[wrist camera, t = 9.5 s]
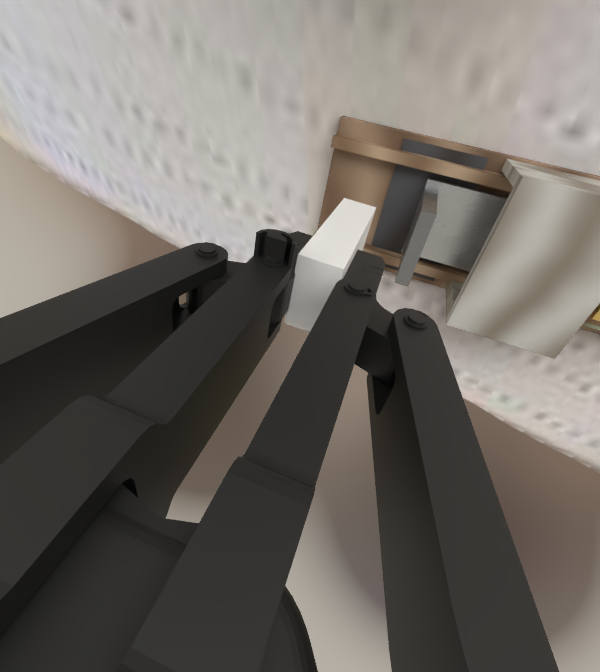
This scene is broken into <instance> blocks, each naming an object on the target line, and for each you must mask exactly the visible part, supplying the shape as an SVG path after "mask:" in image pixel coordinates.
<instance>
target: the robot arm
mask: <svg viewBox="0 0 600 672" xmlns="http://www.w3.org/2000/svg"><path fill="white" fill-rule="evenodd" d="M375 210H376V207H373V206H370V205H366V204H363V203H360V202H356V201H353V200H350V199H346V198H344V199H343V200H342V201H341V203H340V204H339V205H338V206H337V207H336V209H335V210H334V211H333V212H332V214H331V215H330V216H329V217H328V218H327V220H326V221H325V222H324V223H323V224H322V226H321V227H320V228H319V229H318V231H317V232H316V233H315V234H314V235H313V236H311V235H308V234H305V233H302V232H298V231H297V232H293V233H290V234H288V233H286V232H284V231H279V230H274V229H265V230H260V231H258V232H256V241H255V250H254V256H253V257H252V258H251V259H250V260H249V261H248V262H247V263H239V262H233V261H228V253H227V251H226V250H225V249H224V248H222V247H221V246H218V245H216V244H213V243H207V242H205V243H196V244H192V245H189V246H187V247H184V248H182V249H179V250H176V251H174V252H171V253H169V254H166V255H163V256H161V257H158V258H156V259H153V260H151V261H148V262H145V263H143V264H140V265H138V266H135V267H132V268H130V269H127V270H124V271H122V272H119V273H117V274H114V275H112V276H109V277H106V278H104V279H101V280H99V281H96V282H93V283H91V284H88V285H86V286H83V287H80V288H78V289H75V290H72V291H70V292H67V293H65V294H62V295H59V296H57V297H54V298H52V299H49V300H46V301H44V302H41V303H39V304H36V305H34V306H31V307H28V308H26V309H23V310H21V311H18V312H15V313H13V314H10V315H7V316H5V317H2V318H0V672H318V671H317V667H316V663H315V659H314V655H313V651H312V647H311V643H310V639H309V636H308V632H307V629H306V626H305V623H304V621H303V618H302V615H301V613H300V611H299V608H298V607H297V605H296V603H295V601H294V599H293V597H292V595H291V594H290V592H289V591H288V589H287V588H286V586H285V584H286V580H287V578H288V574H289V571H290V568H291V565H292V562H293V558H294V556H295V552H296V549H297V546H298V543H299V540H300V537H301V533H302V530H303V527H304V524H305V521H306V518H307V515H308V512H309V508H310V505H311V502H312V499H313V495H314V491H315V485H316V481H317V478H318V475H319V472H320V468H321V465H322V462H323V459H324V456H325V453H326V450H327V447H328V444H329V441H330V438H331V434H332V431H333V428H334V425H335V422H336V419H337V416H338V412H339V410H340V407H341V404H342V400H343V397H344V394H345V391H346V388H347V385H348V382H349V378H350V376H351V372H352V369H353V366H354V364H356V365H357V366H359V367H360V368H362V369H364V370H365V371H367V372H368V376H367V388H368V399H369V412H370V424H371V436H372V448H373V460H374V472H375V485H376V496H377V509H378V521H379V533H380V544H381V557H382V569H383V580H384V591H385V603H386V604H385V605H386V617H387V629H388V641H389V651H390V660H391V668H392V672H559V670H558V667H557V664H556V661H555V659H554V656H553V653H552V650H551V647H550V645H549V642H548V639H547V636H546V633H545V630H544V628H543V625H542V622H541V619H540V616H539V614H538V611H537V608H536V605H535V602H534V599H533V596H532V593H531V591H530V588H529V585H528V582H527V579H526V576H525V574H524V571H523V568H522V565H521V563H520V559H519V557H518V554H517V551H516V548H515V545H514V542H513V539H512V537H511V534H510V531H509V528H508V525H507V522H506V520H505V517H504V514H503V511H502V508H501V506H500V503H499V500H498V497H497V494H496V491H495V489H494V486H493V483H492V480H491V477H490V474H489V471H488V469H487V466H486V463H485V460H484V457H483V454H482V452H481V449H480V446H479V443H478V440H477V438H476V435H475V432H474V429H473V426H472V423H471V420H470V418H469V415H468V412H467V409H466V406H465V403H464V400H463V398H462V395H461V392H460V389H459V386H458V383H457V381H456V378H455V375H454V372H453V369H452V366H451V364H450V361H449V358H448V355H447V352H446V349H445V347H444V344H443V341H442V338H441V335H440V332H439V330H438V327H437V325H436V323H435V322H434V320H432V319H431V318H430V317H429V316H428V315H426V314H425V313H423V312H421V311H417V310H413V309H406V308H404V309H399V310H397V311H396V312H395V313H394V314H392V313H390V312H389V311H387V310H386V309H384V308H383V307H382V306H381V305H380V304H379V303H378V302H377V300H376V292H377V289H378V286H379V283H380V280H381V277H382V274H383V270H384V267H385V262H384V260H383V258H382V257H380V256H377V255H374V254H371V253H368V252H365V251H363V248H364V244H365V241H366V238H367V235H368V232H369V229H370V226H371V223H372V219H373V216H374V213H375ZM184 293H186V303H184V304H181V305H179V296H180V295H182V294H184ZM285 313H286V318H285V323H286V324H289V325H291V326H294V327H297V328H300V329H303V330H305V331H308V332H310V333H309V335H308V337H307V339H306V341H305V342H304V344H303V346H302V348H301V350H300V352H299V354H298V355H297V357H296V359H295V361H294V363H293V365H292V367H291V368H290V370H289V372H288V374H287V376H286V378H285V380H284V382H283V384H282V385H281V387H280V389H279V391H278V393H277V395H276V397H275V398H274V400H273V402H272V404H271V406H270V408H269V410H268V412H267V414H266V415H265V417H264V419H263V421H262V423H261V425H260V427H259V428H258V430H257V432H256V434H255V436H254V438H253V440H252V441H251V444H250V445H249V447H248V449H247V451H246V453H245V454H244V455H243V456H242V457H238V458H237V459H236V460H235V461H234V462H233V464H232V466H231V467H230V469H229V470H228V472H227V474H226V476H225V477H224V479H223V481H222V483H221V485H220V486H219V488H218V490H217V492H216V494H215V496H214V497H213V499H212V501H211V503H210V505H209V506H208V508H207V510H206V512H205V514H204V516H203V517H202V519H201V521H200V523H192V522H185V521H177V520H171V519H165V518H166V516H167V513H168V510H169V507H170V503H171V501H172V498H173V496H174V494H175V492H176V491H177V489H178V487H179V486H180V484H181V482H182V481H183V479H184V478H185V476H186V475H187V473H188V472H189V470H190V469H191V467H192V466H193V464H194V462H195V461H196V459H197V458H198V456H199V455H200V453H201V452H202V450H203V448H204V447H205V445H206V444H207V442H208V441H209V439H210V438H211V436H212V434H213V433H214V431H215V430H216V428H217V427H218V425H219V423H220V422H221V421H222V419H223V417H224V416H225V414H226V413H227V411H228V410H229V408H230V407H231V405H232V403H233V402H234V400H235V399H236V397H237V396H238V394H239V393H240V391H241V389H242V388H243V386H244V385H245V383H246V382H247V380H248V379H249V377H250V375H251V374H252V372H253V371H254V369H255V368H256V366H257V365H258V363H259V361H260V360H261V358H262V357H263V355H264V354H265V352H266V351H267V349H268V348H269V346H270V344H271V343H272V341H273V340H274V338H275V337H276V335H277V333H278V332H279V330H280V326H281V321H282V318H283V316H284V315H285Z"/></svg>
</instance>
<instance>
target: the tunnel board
mask: <svg viewBox="0 0 600 672" xmlns="http://www.w3.org/2000/svg"><path fill="white" fill-rule="evenodd" d="M331 147H332V148H334V152H333V157H332V162H331V166H330V171H329V176H328V181H327V186H326V191H325V196H324V201H323V206H322V211H321V216H320V221H319V226H318V229H319V228H320V227H321V226H322V224H323V223H324V222H325V221H326V220H327V218H328V217H329V216H330V215H331V214H332V212H333V211H334V210H335V209H336V207H337V206H338V205H339V204H340V203H341V201H342V200H343V199H344V198H346V199H350V200H353V201H356V202H360V203H363V204H366V205H370V206H373V207H376V210H375V213H374V216H373V219H372V223H371V226H370V229H369V232H368V235H367V238H366V241H365V244H364V248H363V251H365V252H368V253H371V254H374V255H377V256H380V257H382V258H383V260H384V262H385V267H384V270H386V271H389V272H392V273H396V274H397V271H398V267H399V262H400V258H401V254H402V248H403V245H404V243H405V240H406V237H407V234H408V232H409V229H410V226H411V223H412V221H413V218H414V215H415V213H416V210H417V207H418V204H419V202H420V199H421V196H422V193H423V191H424V188H425V185H426V182H427V180H428V178H432V179H436V180H440V181H444V182H448V183H452V184H456V185H460V186H464V187H468V188H472V189H476V190H480V191H484V192H488V193H492V194H496V195H500V196H504V197H508V199H507V201H506V203H505V205H504V206H503V208H502V210H501V212H500V214H499V216H498V218H497V220H496V222H495V224H494V226H493V228H492V230H491V232H490V234H489V236H488V238H487V240H486V242H485V244H484V246H483V248H482V250H481V251H480V253H479V255H478V257H477V259H476V261H475V263H474V265H473V267H472V269H471V271H467V270H463V269H460V268H456V267H453V266H449V265H446V264H442V263H439V262H435V261H432V260H428V259H425V258H422V257H420V258H419V260H418V263H417V265H416V268H415V270H414V273H413V275H412V279H416V280H419V281H423V282H426V283H429V284H433V285H436V286H439V287H443V288H446V325H448V326H452V327H455V328H458V329H461V330H464V331H468V332H471V333H474V334H477V335H480V336H484V337H487V338H490V339H493V340H496V341H500V342H503V343H506V344H509V345H512V346H516V347H519V348H522V349H525V350H528V351H532V352H535V353H538V354H541V355H544V356H548V357H551V358H554V359H555V358H556V357H557V355H558V354H559V353H560V352H561V350H562V349H563V348H564V347H565V345H566V344H567V343H568V342H569V340H570V339H571V338H572V337H573V335H574V334H575V333H576V332H577V330H578V329H579V328H581V329H584V330H588V331H591V332H594V333H598V334H600V321H597V320H594V319H592V318H591V317H590V314H591V313H592V312H593V311H594V309H595V308H596V307H597V306H598V304H599V303H600V176H596V175H592V174H588V173H583V172H579V171H575V170H570V169H566V168H562V167H558V166H553V165H549V164H545V163H541V162H536V161H532V160H528V159H524V158H519V157H515V156H511V155H507V154H502V153H498V152H494V151H490V150H485V149H481V148H477V147H472V146H468V145H464V144H460V143H455V142H451V141H447V140H443V139H438V138H434V137H430V136H426V135H421V134H417V133H413V132H409V131H404V130H400V129H396V128H392V127H387V126H383V125H379V124H375V123H370V122H366V121H362V120H357V119H353V118H349V117H345V116H342V117H340V122H339V127H338V132H337V134H336V135H334V136H333V140H332V145H331ZM317 231H318V230H317ZM317 231H316V232H317ZM316 232H315V233H316ZM315 233H314V234H315Z"/></svg>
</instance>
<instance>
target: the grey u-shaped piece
mask: <svg viewBox="0 0 600 672" xmlns="http://www.w3.org/2000/svg"><path fill="white" fill-rule="evenodd" d="M507 199H508V197H504V196H500V195H496V194H492V193H488V192H484V191H480V190H476V189H472V188H468V187H464V186H460V185H456V184H452V183H448V182H444V181H440V180H436V179H432V178H428V180H427V182H426V185H425V188H424V191H423V193H422V196H421V199H420V202H419V204H418V207H417V210H416V213H415V215H414V218H413V221H412V223H411V226H410V229H409V232H408V234H407V237H406V240H405V243H404V245H403V248H402V254H401V258H400V262H399V267H398V271H397V275H396V279H395V283H399V284H402V285H405V286H408V285H409V283H410V280H411V278H412V275H413V273H414V270H415V268H416V265H417V263H418V260H419V258H420V257H422V258H425V259H428V260H432V261H435V262H439V263H442V264H446V265H449V266H453V267H456V268H460V269H463V270H467V271H471V269H472V267H473V265H474V263H475V261H476V259H477V257H478V255H479V253H480V251H481V250H482V248H483V246H484V244H485V242H486V240H487V238H488V236H489V234H490V232H491V230H492V228H493V226H494V224H495V222H496V220H497V218H498V216H499V214H500V212H501V210H502V208H503V206H504V205H505V203H506V201H507ZM590 317H591V318H592V319H594V320H597V321H600V303H599V304H598V306H597V307H596V308H595V309H594V311H593V312H592V313H591V314H590Z"/></svg>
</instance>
